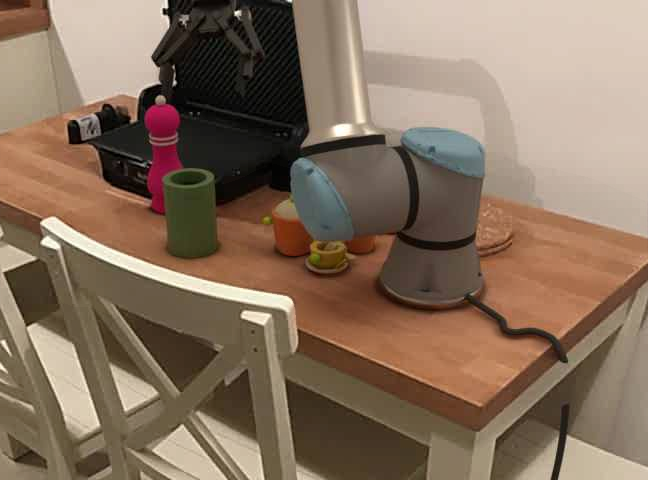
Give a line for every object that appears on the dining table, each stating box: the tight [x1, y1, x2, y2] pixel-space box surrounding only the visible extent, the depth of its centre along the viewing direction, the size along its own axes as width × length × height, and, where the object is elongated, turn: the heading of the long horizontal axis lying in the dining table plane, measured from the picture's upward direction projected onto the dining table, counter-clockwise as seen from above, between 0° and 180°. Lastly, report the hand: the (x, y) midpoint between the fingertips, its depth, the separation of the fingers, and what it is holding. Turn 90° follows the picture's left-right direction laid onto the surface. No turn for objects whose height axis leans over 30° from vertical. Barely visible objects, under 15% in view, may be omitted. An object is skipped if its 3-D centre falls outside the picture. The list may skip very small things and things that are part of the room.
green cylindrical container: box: [162, 167, 219, 259], centre depth 148 cm, size 8×8×12 cm
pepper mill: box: [144, 94, 184, 214], centre depth 160 cm, size 7×7×20 cm
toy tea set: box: [262, 194, 395, 274], centre depth 149 cm, size 26×16×10 cm, turn 137°
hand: (201, 98), depth 157 cm, fingers open, 13 cm apart
